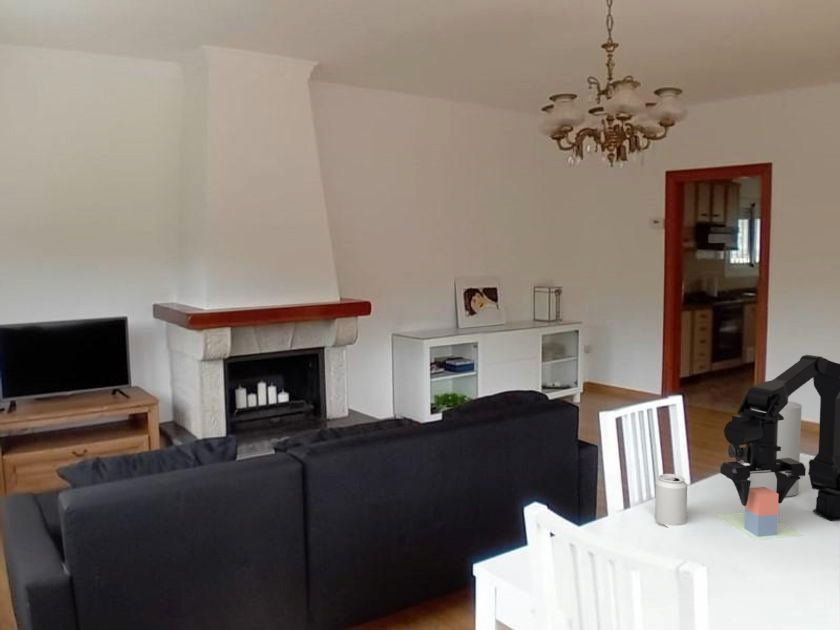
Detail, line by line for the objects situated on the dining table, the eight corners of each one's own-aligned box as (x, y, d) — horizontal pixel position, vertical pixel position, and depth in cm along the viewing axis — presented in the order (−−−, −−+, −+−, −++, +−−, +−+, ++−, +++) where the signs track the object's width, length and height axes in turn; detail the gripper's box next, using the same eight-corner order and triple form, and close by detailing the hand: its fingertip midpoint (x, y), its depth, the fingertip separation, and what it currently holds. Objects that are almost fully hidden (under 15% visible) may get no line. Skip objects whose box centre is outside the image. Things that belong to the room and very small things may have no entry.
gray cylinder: (746, 492, 196) (749, 405, 194) (751, 480, 207) (754, 397, 204) (796, 500, 189) (800, 410, 187) (799, 487, 200) (803, 401, 198)
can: (688, 530, 170) (690, 482, 169) (656, 528, 172) (657, 480, 171) (683, 519, 177) (684, 473, 176) (652, 517, 179) (653, 471, 178)
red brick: (763, 506, 169) (764, 486, 168) (777, 514, 164) (778, 493, 164) (745, 508, 168) (745, 488, 168) (758, 516, 163) (759, 495, 163)
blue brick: (763, 527, 169) (763, 507, 169) (776, 535, 164) (777, 514, 164) (744, 528, 168) (745, 508, 168) (757, 536, 164) (758, 516, 163)
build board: (760, 514, 180) (760, 511, 180) (804, 539, 164) (804, 535, 164) (713, 518, 178) (714, 514, 177) (753, 544, 162) (754, 540, 162)
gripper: (776, 429, 174) (774, 490, 175) (707, 433, 171) (706, 495, 172) (808, 441, 163) (805, 506, 164) (735, 445, 160) (733, 511, 161)
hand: (761, 504), depth 166 cm, fingers open, 9 cm apart
